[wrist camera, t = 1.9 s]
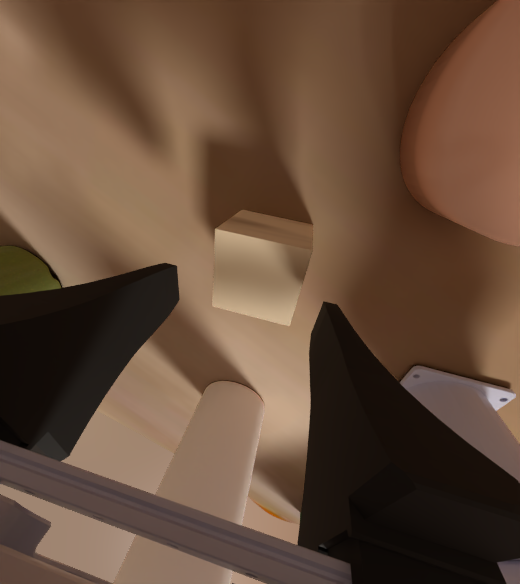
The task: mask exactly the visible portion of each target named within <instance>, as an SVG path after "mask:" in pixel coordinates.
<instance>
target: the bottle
mask: <svg viewBox="0 0 520 584" xmlns="http://www.w3.org/2000/svg"><path fill="white" fill-rule="evenodd" d="M264 408H265V407H264V403H263V401H262V399H261V398H260V397H259V395H258V394H257V393H255V392H254V391H253V390H251V389H250V388H248V387H246V386H244V385H242V384H239V383H236V382H230V381H217V382H214V383H212V384H210V385H208V386H207V387H206V389H205V391H204V393H203V395H202V397H201V399H200V401H199V403H198V405H197V408H196V410H195V412H194V414H193V416H192V418H191V420H190V422H189V424H188V427H187V429H186V431H185V433H184V435H183V437H182V439H181V441H180V443H179V445H178V448H177V450H176V452H175V454H174V456H173V458H172V460H171V462H170V465H169V467H168V469H167V471H166V473H165V475H164V477H163V479H162V481H161V483H160V485H159V488H158V490H157V492H156V494H155V495H157V496H160V497H162V498H165V499H168V500H171V501H174V502H176V503H179V504H182V505H185V506H188V507H191V508H193V509H196V510H199V511H202V512H205V513H208V514H210V515H213V516H216V517H219V518H222V519H225V520H227V521H230V522H233V523H236V524H239V525H242V522H243V517H244V512H245V507H246V502H247V497H248V492H249V487H250V482H251V477H252V472H253V467H254V462H255V457H256V452H257V447H258V442H259V437H260V432H261V427H262V422H263V416H264ZM232 572H233V571H232V570H229V569H227V568H224V567H221V566H219V565H216V564H213V563H211V562H208V561H205V560H203V559H200V558H197V557H195V556H192V555H189V554H187V553H184V552H181V551H179V550H176V549H173V548H171V547H168V546H165V545H163V544H160V543H157V542H155V541H152V540H149V539H147V538H144V537H141V536H139V535H136V536H135V538H134V540H133V542H132V545H131V547H130V549H129V551H128V553H127V555H126V557H125V559H124V561H123V564H122V566H121V568H120V570H119V572H118V574H117V576H116V578H115V580H114V583H113V584H230V582H231V577H232Z"/></svg>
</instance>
